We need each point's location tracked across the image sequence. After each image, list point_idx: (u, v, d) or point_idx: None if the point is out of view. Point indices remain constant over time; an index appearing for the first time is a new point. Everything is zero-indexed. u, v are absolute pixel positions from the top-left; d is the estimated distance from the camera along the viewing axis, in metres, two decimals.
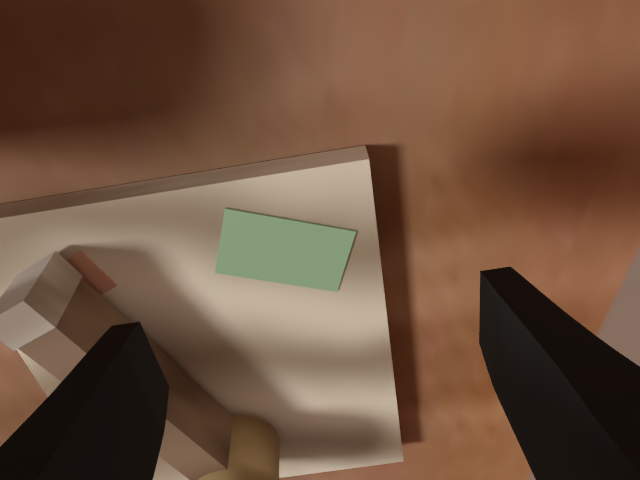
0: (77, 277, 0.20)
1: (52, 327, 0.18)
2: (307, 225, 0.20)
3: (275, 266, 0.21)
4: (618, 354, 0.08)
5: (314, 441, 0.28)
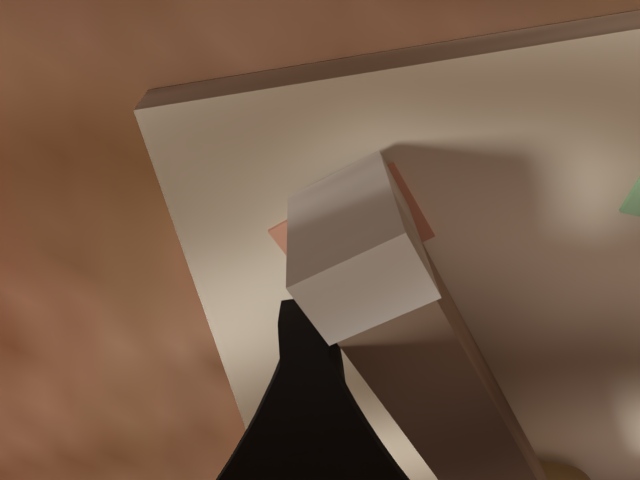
0: (408, 207, 0.11)
1: (429, 298, 0.09)
2: None
3: None
4: (343, 392, 0.08)
5: None
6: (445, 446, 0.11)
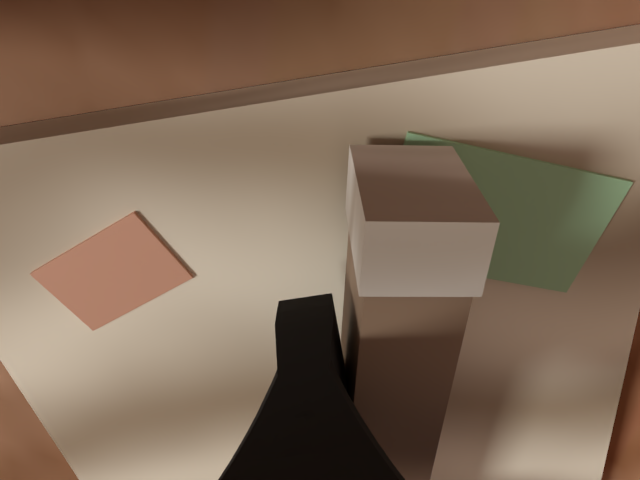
0: None
1: (469, 293, 0.09)
2: (549, 170, 0.11)
3: None
4: (339, 393, 0.08)
5: None
6: (376, 439, 0.11)
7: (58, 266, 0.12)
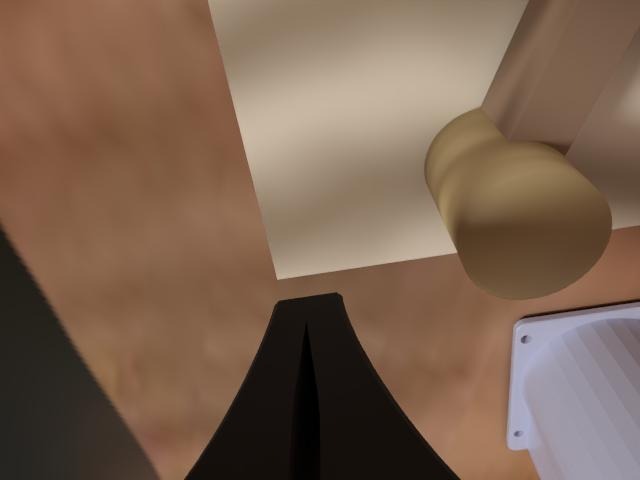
0: None
1: None
2: None
3: None
4: (379, 387, 0.08)
5: None
6: None
7: None
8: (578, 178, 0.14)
